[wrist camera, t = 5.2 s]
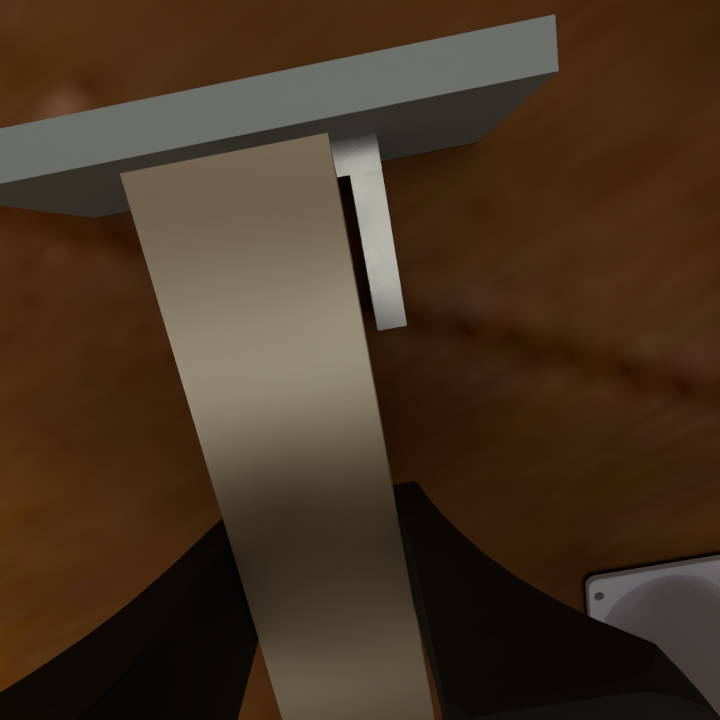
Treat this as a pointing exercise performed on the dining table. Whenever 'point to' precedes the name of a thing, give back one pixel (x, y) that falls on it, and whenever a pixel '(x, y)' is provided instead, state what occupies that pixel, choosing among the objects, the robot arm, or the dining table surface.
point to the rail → (288, 419)
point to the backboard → (283, 115)
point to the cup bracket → (371, 225)
